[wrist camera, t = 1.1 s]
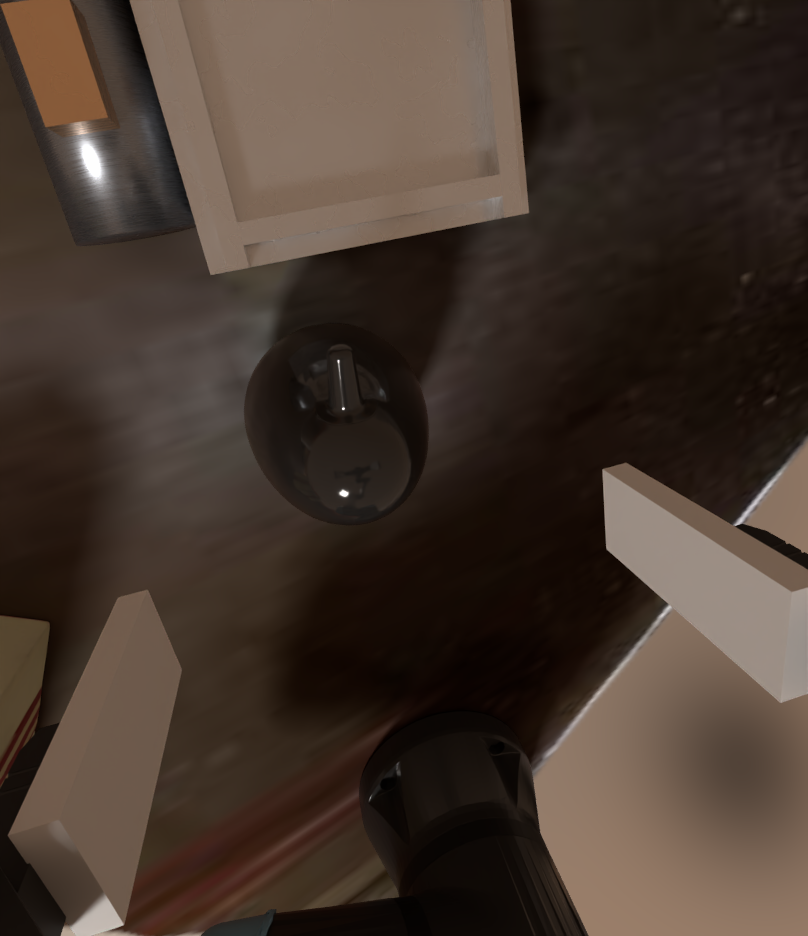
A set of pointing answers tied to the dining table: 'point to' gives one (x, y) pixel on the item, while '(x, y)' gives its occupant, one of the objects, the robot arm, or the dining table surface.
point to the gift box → (20, 683)
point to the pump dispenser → (338, 423)
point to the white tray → (271, 119)
